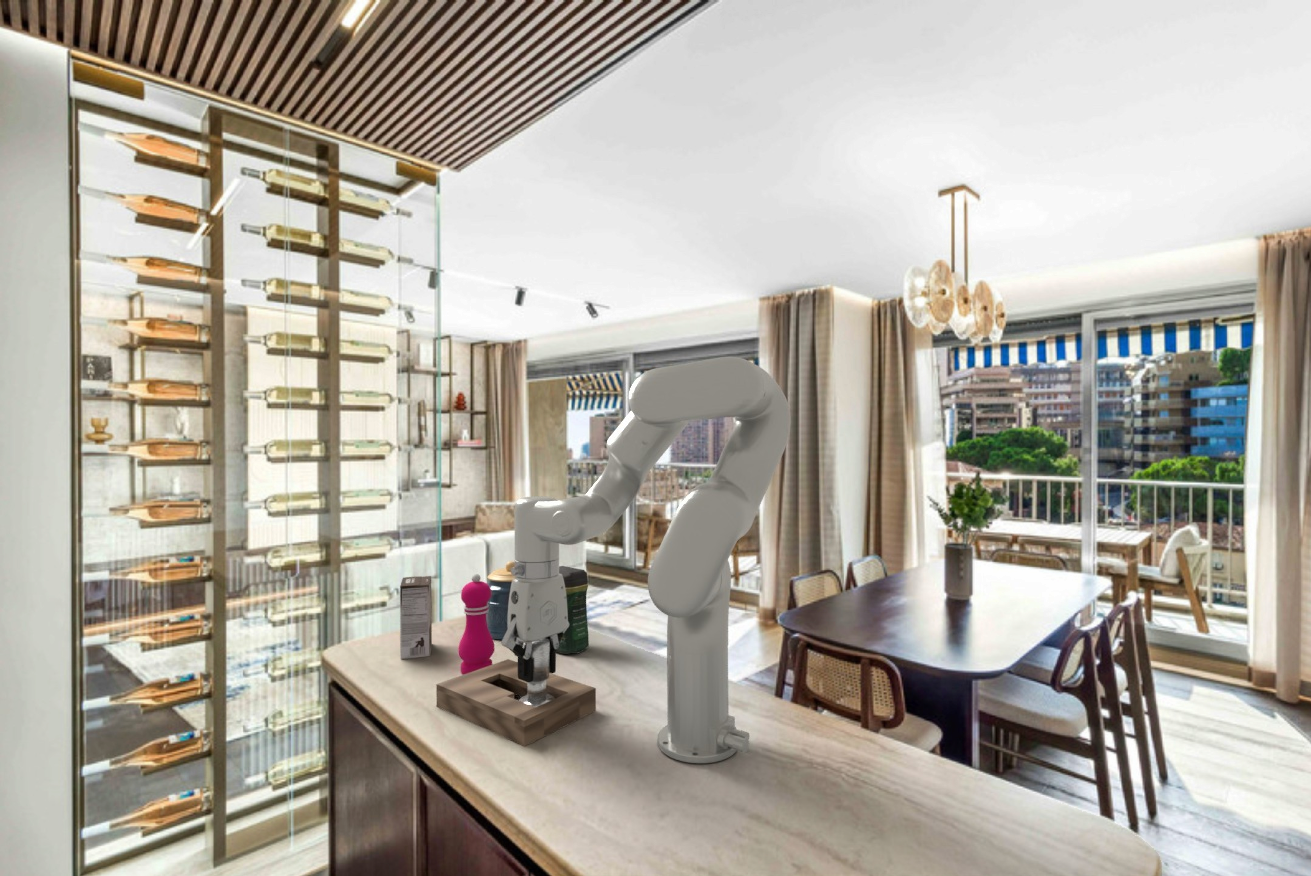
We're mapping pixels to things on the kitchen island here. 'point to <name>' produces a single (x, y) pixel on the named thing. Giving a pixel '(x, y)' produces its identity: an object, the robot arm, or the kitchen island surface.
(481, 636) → the pepper mill
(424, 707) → the kitchen island surface
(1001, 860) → the kitchen island surface
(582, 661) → the kitchen island surface
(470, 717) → the keyhole board
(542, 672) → the steel peg
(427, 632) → the coffee box
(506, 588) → the canister
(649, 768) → the kitchen island surface
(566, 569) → the coffee jar
